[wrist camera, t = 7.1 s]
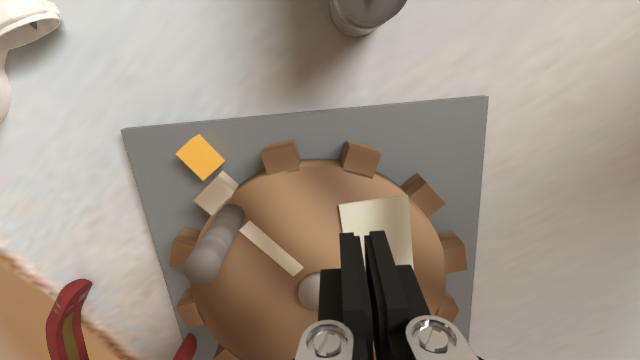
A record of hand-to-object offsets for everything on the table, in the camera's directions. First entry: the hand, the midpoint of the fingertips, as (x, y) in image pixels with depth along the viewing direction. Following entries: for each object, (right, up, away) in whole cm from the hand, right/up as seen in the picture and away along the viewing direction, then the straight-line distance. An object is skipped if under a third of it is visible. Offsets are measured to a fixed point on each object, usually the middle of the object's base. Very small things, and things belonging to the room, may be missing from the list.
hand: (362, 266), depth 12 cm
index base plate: (-2, -4, +14) cm, 14 cm away
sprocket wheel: (-2, -4, +14) cm, 14 cm away
